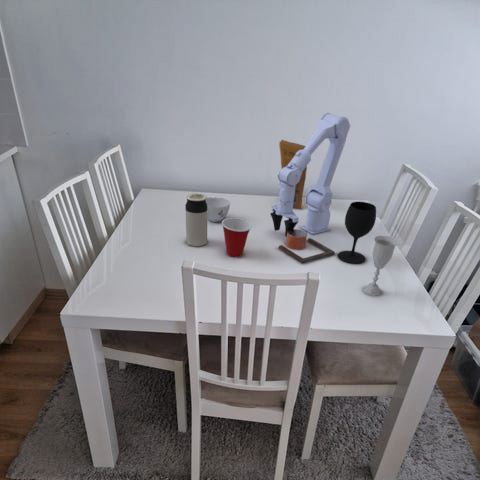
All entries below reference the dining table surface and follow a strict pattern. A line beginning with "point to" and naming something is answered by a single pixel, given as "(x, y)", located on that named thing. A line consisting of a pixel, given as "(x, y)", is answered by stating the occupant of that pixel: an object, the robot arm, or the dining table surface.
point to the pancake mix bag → (287, 155)
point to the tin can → (296, 239)
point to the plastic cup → (235, 235)
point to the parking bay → (304, 260)
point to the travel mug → (196, 219)
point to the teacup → (217, 208)
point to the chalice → (380, 259)
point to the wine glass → (358, 228)
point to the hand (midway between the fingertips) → (282, 233)
